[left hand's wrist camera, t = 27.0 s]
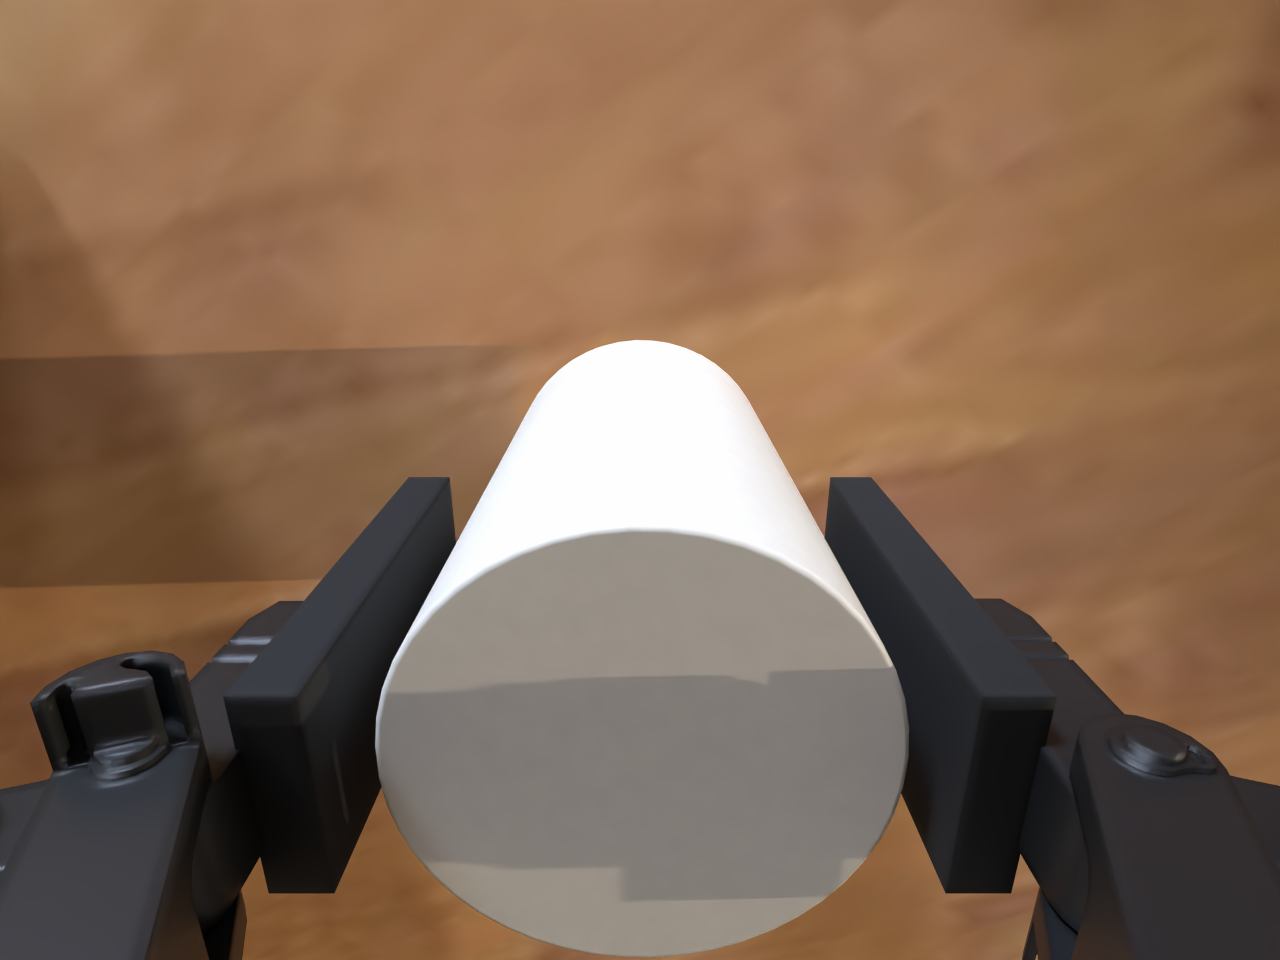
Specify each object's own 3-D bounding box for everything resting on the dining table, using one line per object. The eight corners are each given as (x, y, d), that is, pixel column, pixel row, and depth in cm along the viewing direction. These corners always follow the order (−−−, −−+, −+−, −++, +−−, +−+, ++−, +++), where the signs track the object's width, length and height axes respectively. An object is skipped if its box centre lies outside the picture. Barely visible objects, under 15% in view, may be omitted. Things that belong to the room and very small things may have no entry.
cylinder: (726, 306, 18) (850, 451, 7) (787, 534, 20) (951, 900, 9) (482, 383, 18) (277, 616, 8) (566, 596, 20) (490, 1002, 10)
